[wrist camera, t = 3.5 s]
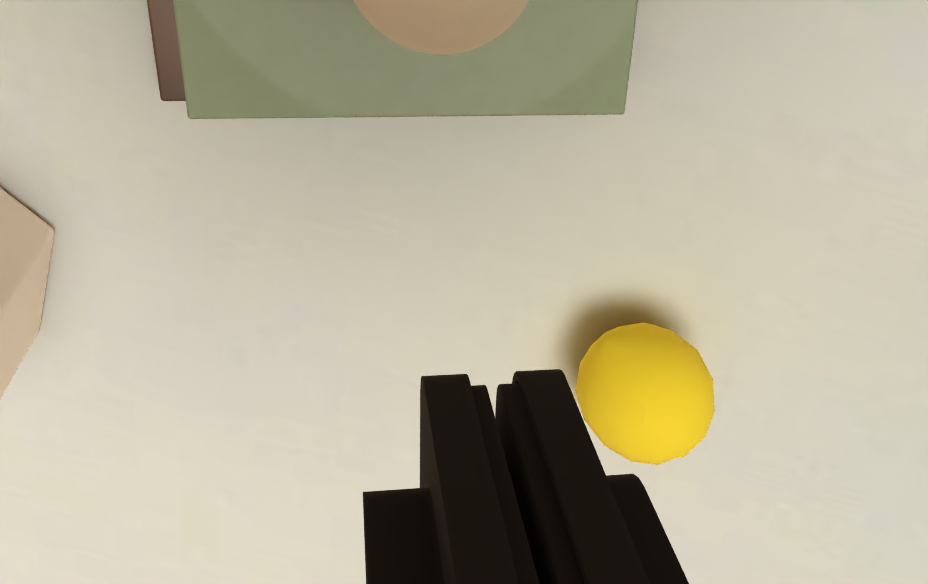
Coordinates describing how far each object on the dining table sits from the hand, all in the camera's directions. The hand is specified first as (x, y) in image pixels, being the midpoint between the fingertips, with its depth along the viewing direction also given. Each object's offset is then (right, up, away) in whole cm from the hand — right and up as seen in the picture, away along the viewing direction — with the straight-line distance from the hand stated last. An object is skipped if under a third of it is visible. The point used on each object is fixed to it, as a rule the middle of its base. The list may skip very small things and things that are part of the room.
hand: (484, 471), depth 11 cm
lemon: (+7, -1, +28) cm, 29 cm away
